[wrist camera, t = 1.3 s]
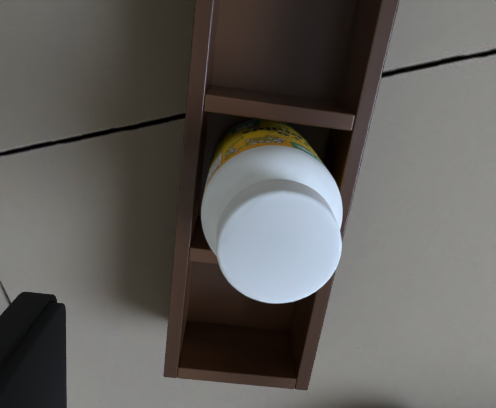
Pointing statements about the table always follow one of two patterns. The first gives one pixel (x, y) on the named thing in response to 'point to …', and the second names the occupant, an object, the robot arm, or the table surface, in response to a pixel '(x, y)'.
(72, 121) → the table surface
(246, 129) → the supplement bottle
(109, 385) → the table surface
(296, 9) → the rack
